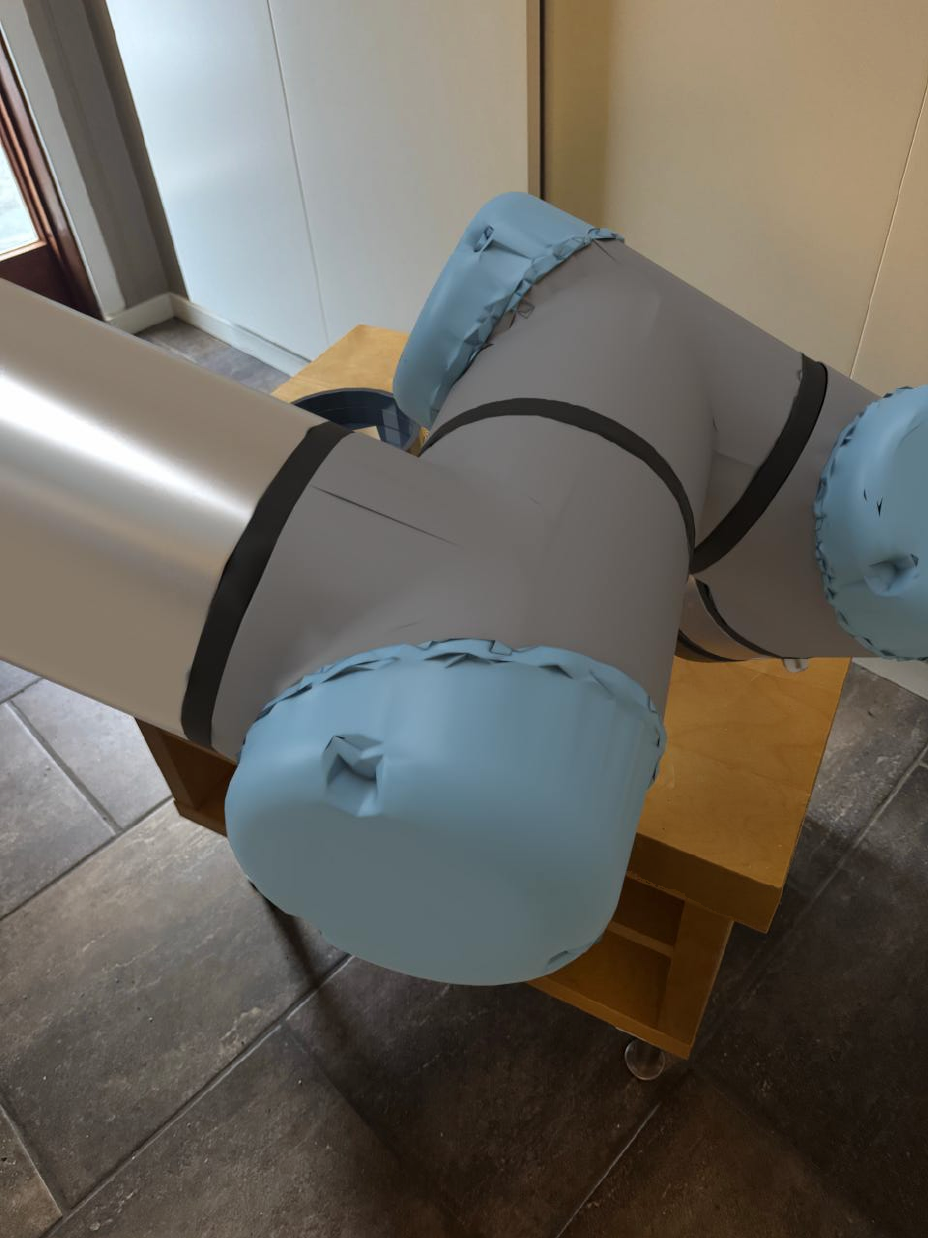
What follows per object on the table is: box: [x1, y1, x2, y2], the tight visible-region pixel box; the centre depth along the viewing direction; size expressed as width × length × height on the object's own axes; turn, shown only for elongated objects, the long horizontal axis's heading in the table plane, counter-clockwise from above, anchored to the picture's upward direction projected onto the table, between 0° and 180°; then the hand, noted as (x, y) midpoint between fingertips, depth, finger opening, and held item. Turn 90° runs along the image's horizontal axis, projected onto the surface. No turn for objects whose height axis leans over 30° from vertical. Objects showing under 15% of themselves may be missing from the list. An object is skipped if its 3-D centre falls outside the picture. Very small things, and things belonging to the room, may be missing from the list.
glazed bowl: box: [289, 386, 425, 456], centre depth 93 cm, size 16×16×4 cm
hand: (594, 608), depth 60 cm, fingers open, 13 cm apart
